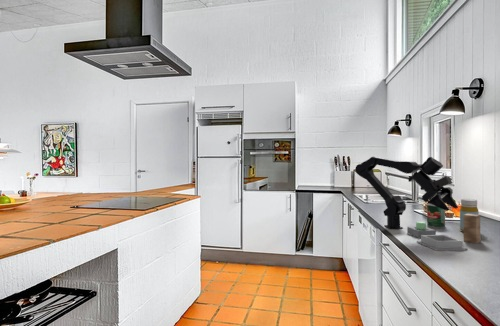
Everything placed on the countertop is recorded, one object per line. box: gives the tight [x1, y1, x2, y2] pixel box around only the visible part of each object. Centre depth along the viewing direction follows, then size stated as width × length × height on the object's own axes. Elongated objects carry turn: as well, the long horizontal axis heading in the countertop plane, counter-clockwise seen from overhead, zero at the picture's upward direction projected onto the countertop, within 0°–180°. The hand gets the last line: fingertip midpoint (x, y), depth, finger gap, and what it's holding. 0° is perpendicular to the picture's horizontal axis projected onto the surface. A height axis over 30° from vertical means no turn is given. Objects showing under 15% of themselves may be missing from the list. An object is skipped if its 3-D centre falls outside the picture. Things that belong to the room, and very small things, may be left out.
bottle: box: [459, 198, 479, 233], centre depth 141 cm, size 7×7×15 cm
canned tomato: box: [426, 203, 446, 229], centre depth 154 cm, size 8×8×11 cm
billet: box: [463, 214, 482, 244], centre depth 125 cm, size 4×4×11 cm
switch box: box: [406, 226, 437, 239], centre depth 136 cm, size 8×8×3 cm
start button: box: [415, 221, 427, 230], centre depth 136 cm, size 4×4×5 cm
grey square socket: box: [416, 234, 468, 252], centre depth 119 cm, size 12×12×3 cm
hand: (452, 209), depth 130 cm, fingers open, 9 cm apart
